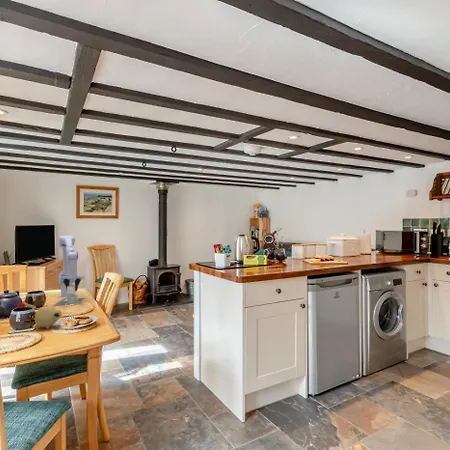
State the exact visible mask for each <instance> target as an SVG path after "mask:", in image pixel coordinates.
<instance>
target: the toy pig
mask: <svg viewBox="0 0 450 450" xmlns="http://www.w3.org/2000/svg"><path fill="white" fill-rule="evenodd" d="M34 314H35V318H34V320H35V321H34V323H35V327H36V328H39V327H40V328H46V329H48V330H49V329H50V328H51V327H52V326H54V325H55V324H56V322H58V320H59V319H60V318H62V316H63V313H62V311H61V310H60V309H55V308H54V307H53V306H42V307H40V308H39V309H38V310H37V311H36V312H35V313H34Z"/></svg>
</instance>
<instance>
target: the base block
mask: <svg viewBox="0 0 450 450" xmlns="http://www.w3.org/2000/svg"><path fill="white" fill-rule="evenodd" d="M66 298H67V304H75V303H77V298H78V295H73V296H68V297H66Z"/></svg>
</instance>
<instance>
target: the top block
mask: <svg viewBox="0 0 450 450" xmlns="http://www.w3.org/2000/svg"><path fill="white" fill-rule="evenodd" d="M77 292H78V290H77V291H75V284H73V285H70V286H68V287H67V294H76V293H77Z"/></svg>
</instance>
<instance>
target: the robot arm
mask: <svg viewBox="0 0 450 450" xmlns="http://www.w3.org/2000/svg"><path fill="white" fill-rule="evenodd" d="M75 237H76V236H75V235H59V236H58V246H59V248H61V249H62V271H60V272H59V274H58V284H59V285H60V295H59V296H58V298H67V297H68V296H75V294H76V293H74V294H67V287H68V286H70V285H75V291H77V292H78V288H79V285H80V283H81V282H82V281H83V280H84V279H85V276H83V275H78V259H79V253H78V252H79V251H77V250H76V248H75V242H76V238H75Z"/></svg>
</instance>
